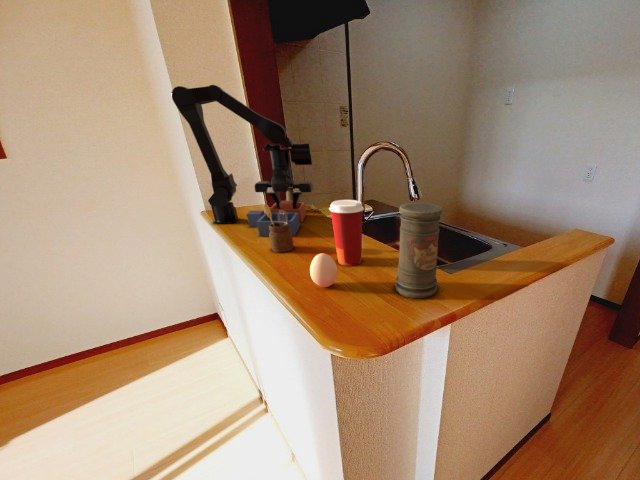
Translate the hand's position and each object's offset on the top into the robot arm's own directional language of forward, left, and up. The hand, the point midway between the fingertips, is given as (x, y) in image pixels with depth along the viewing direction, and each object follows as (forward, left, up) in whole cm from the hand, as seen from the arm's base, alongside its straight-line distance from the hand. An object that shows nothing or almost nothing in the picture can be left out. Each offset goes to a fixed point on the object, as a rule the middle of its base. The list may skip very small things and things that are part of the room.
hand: (288, 211), depth 116 cm
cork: (0, +11, -3) cm, 11 cm away
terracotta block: (0, 0, -1) cm, 1 cm away
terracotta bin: (0, 0, -3) cm, 3 cm away
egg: (+18, -56, -3) cm, 59 cm away
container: (+38, -59, -3) cm, 70 cm away
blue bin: (0, -15, -3) cm, 15 cm away
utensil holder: (+4, -32, -3) cm, 32 cm away
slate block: (-9, -8, -3) cm, 12 cm away
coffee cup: (+23, -42, -3) cm, 48 cm away
